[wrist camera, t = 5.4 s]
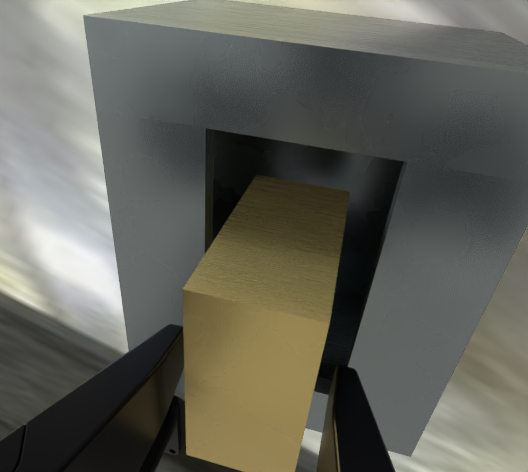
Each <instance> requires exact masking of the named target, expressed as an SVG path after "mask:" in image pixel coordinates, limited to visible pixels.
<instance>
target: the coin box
mask: <svg viewBox="0 0 528 472" xmlns="http://www.w3.org/2000/svg"><path fill="white" fill-rule="evenodd" d="M83 17H84V25H85V32H86V39H87V47H88V54H89V62H90V69H91V76H92V84H93V91H94V98H95V106H96V113H97V120H98V128H99V135H100V142H101V150H102V157H103V164H104V172H105V179H106V186H107V194H108V201H109V208H110V216H111V223H112V231H113V238H114V245H115V253H116V260H117V267H118V275H119V282H120V289H121V297H122V304H123V311H124V319H125V326H126V333H127V341H128V348H129V351H130V350H132V349H133V348H135V347H136V346H138V345H139V344H140V343H142V342H143V341H145V340H146V339H148V338H149V337H151V336H152V335H153V334H155V333H156V332H158V331H159V330H161V329H162V328H164V327H165V326H167V325H168V324H176V325H180V326H183V291H182V289H183V288H184V286H185V285H186V283H187V281H188V280H189V278H190V277H191V275H192V274H193V272H194V271H195V269H196V267H197V266H198V264H199V263H200V261H201V260H202V258H203V257H204V255H205V254H206V252H207V250H208V249H209V247H210V246H211V244H212V243H213V241H214V240H215V238H216V237H217V235H218V233H219V232H220V230H221V229H222V227H223V226H224V224H225V223H226V221H227V219H228V218H229V216H230V215H231V213H232V212H233V210H234V209H235V207H236V206H237V204H238V202H239V201H240V199H241V198H242V196H243V195H244V193H245V192H246V190H247V188H248V187H249V185H250V184H251V182H252V181H253V179H254V178H255V176H256V175H262V176H268V177H273V178H279V179H284V180H290V181H295V182H301V183H306V184H312V185H317V186H322V187H328V188H333V189H339V190H344V191H350V195H349V201H348V208H347V214H346V221H345V227H344V234H343V240H342V247H341V253H340V260H339V266H338V273H337V279H336V286H335V292H334V299H333V305H332V312H331V318H330V324H329V329H328V333H327V337H326V341H325V346H324V350H323V354H322V358H321V363H320V367H319V371H318V375H317V380H316V384H315V388H314V392H313V397H312V401H311V405H310V409H309V413H308V418H307V422H306V426H305V428H308V429H311V430H315V431H318V432H323V426H324V420H325V414H326V408H327V401H328V396H329V391H330V387H331V383H332V379H333V375H334V372H335V368H336V366H337V365H343V366H347V367H351V368H354V369H355V370H356V371H357V373H358V375H359V378H360V381H361V383H362V386H363V388H364V391H365V394H366V396H367V399H368V401H369V404H370V407H371V409H372V412H373V415H374V417H375V420H376V422H377V425H378V428H379V430H380V433H381V435H382V438H383V441H384V443H385V446H386V448H387V450H388V451H392V452H395V453H399V454H403V455H406V456H410V457H411V455H412V453H413V451H414V449H415V447H416V445H417V443H418V441H419V439H420V437H421V435H422V433H423V431H424V429H425V427H426V425H427V423H428V421H429V419H430V417H431V415H432V413H433V411H434V409H435V407H436V405H437V403H438V401H439V399H440V397H441V395H442V393H443V391H444V389H445V387H446V385H447V383H448V381H449V379H450V377H451V375H452V374H453V372H454V370H455V368H456V366H457V364H458V362H459V360H460V358H461V356H462V354H463V352H464V350H465V348H466V346H467V344H468V342H469V340H470V338H471V336H472V334H473V332H474V330H475V328H476V326H477V324H478V322H479V320H480V318H481V316H482V314H483V312H484V310H485V308H486V306H487V304H488V302H489V300H490V298H491V296H492V294H493V292H494V290H495V288H496V286H497V284H498V282H499V280H500V278H501V276H502V274H503V272H504V270H505V268H506V266H507V264H508V262H509V260H510V259H511V257H512V255H513V253H514V251H515V249H516V247H517V245H518V243H519V241H520V239H521V237H522V235H523V233H524V231H525V229H526V227H527V225H528V46H527V45H525V44H523V43H521V42H519V41H517V40H515V39H513V38H512V37H510V36H508V35H506V34H504V33H501V32H493V31H484V30H476V29H467V28H459V27H450V26H442V25H433V24H424V23H416V22H407V21H399V20H390V19H382V18H373V17H365V16H356V15H348V14H339V13H330V12H322V11H313V10H305V9H296V8H288V7H279V6H271V5H262V4H254V3H245V2H236V1H228V0H188V1H181V2H174V3H167V4H160V5H153V6H146V7H139V8H132V9H125V10H118V11H111V12H104V13H97V14H90V15H83ZM175 392H176V393H179V394H183V395H185V377H184V369H183V372H182V375H181V377H180V380H179V383H178V385H177V388H176V390H175Z"/></svg>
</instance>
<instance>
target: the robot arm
mask: <svg viewBox="0 0 528 472" xmlns="http://www.w3.org/2000/svg"><path fill="white" fill-rule="evenodd" d="M183 369H184V334H183V326H180V325H176V324H168V325H167V326H165V327H164V328H162V329H161V330H159V331H158V332H156V333H155V334H153V335H152V336H151V337H149V338H148V339H146V340H145V341H143V342H142V343H140V344H139V345H138V346H136V347H135V348H133V349H132V350H130V351H129V352H127V353H126V354H124V355H123V356H122V357H120V358H119V359H117V360H116V361H114V362H113V363H111V364H110V365H108V366H107V367H106V368H104V369H103V370H101V371H100V372H98V373H97V374H95V375H94V376H93V377H91V378H90V379H88V380H87V381H85V382H84V383H82V384H81V385H79V386H78V387H77V388H75V389H74V390H72V391H71V392H69V393H68V394H66V395H65V396H64V397H62V398H61V399H59V400H58V401H56V402H55V403H53V404H52V405H50V406H49V407H48V408H46V409H45V410H43V411H42V412H40V413H39V414H37V415H36V416H35V417H33V418H32V419H30V420H29V421H28V422H27V424H26V425H25V424H23V425H21V426H20V427H18V428H17V429H15V430H14V431H12V432H11V433H10V434H8V435H7V436H5V437H4V438H2V439H1V440H0V472H155V470H156V468H157V466H158V464H159V462H160V459H161V457H162V455H163V453H168V454H171V455H178V454H179V452H180V449H181V440H180V418H179V402H178V400H177V399H175V398H174V397H173V396H174V393H175V390H176V388H177V385H178V383H179V380H180V377H181V375H182V372H183ZM317 472H395V469H394V467H393V464H392V461H391V459H390V456H389V454H388V451H387V448H386V446H385V443H384V441H383V438H382V435H381V433H380V430H379V428H378V425H377V422H376V420H375V417H374V415H373V412H372V409H371V407H370V404H369V401H368V399H367V396H366V394H365V391H364V388H363V386H362V383H361V381H360V378H359V375H358V373H357V371H356V370H355V369H354V368H351V367H347V366H343V365H337V366H336V368H335V372H334V375H333V379H332V383H331V387H330V391H329V396H328V401H327V408H326V414H325V420H324V426H323V432H322V439H321V445H320V451H319V457H318V465H317Z"/></svg>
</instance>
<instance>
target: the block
mask: <svg viewBox="0 0 528 472" xmlns="http://www.w3.org/2000/svg"><path fill="white" fill-rule="evenodd" d="M349 195H350V191H344V190H339V189H333V188H328V187H322V186H317V185H312V184H306V183H301V182H295V181H290V180H284V179H279V178H273V177H268V176H262V175H256V176H255V178H254V179H253V181H252V182H251V184H250V185H249V187H248V188H247V190H246V192H245V193H244V195H243V196H242V198H241V199H240V201H239V202H238V204H237V206H236V207H235V209H234V210H233V212H232V213H231V215H230V216H229V218H228V219H227V221H226V223H225V224H224V226H223V227H222V229H221V230H220V232H219V233H218V235H217V237H216V238H215V240H214V241H213V243H212V244H211V246H210V247H209V249H208V250H207V252H206V254H205V255H204V257H203V258H202V260H201V261H200V263H199V264H198V266H197V267H196V269H195V271H194V272H193V274H192V275H191V277H190V278H189V280H188V281H187V283H186V285H185V286H184V288H183V289H182V291H183V334H184V377H185V420H186V455H189V456H192V457H196V458H199V459H203V460H206V461H209V462H213V463H216V464H219V465H223V466H226V467H230V468H233V469H236V470H240V471H243V472H295V469H296V464H297V460H298V456H299V452H300V447H301V443H302V439H303V435H304V430H305V426H306V422H307V418H308V413H309V409H310V405H311V401H312V397H313V392H314V388H315V384H316V380H317V375H318V371H319V367H320V363H321V358H322V354H323V350H324V346H325V341H326V337H327V333H328V329H329V324H330V318H331V312H332V305H333V299H334V292H335V286H336V279H337V273H338V266H339V260H340V253H341V247H342V240H343V234H344V227H345V221H346V214H347V208H348V201H349Z"/></svg>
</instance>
